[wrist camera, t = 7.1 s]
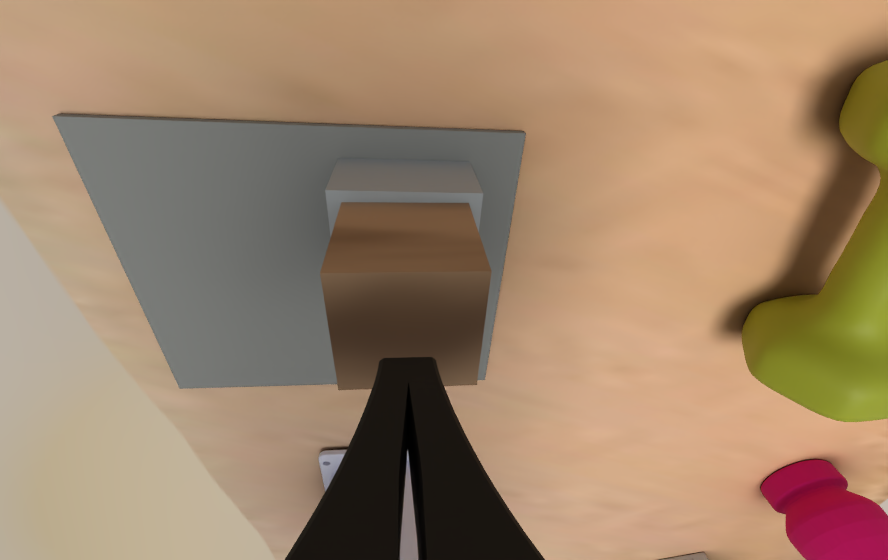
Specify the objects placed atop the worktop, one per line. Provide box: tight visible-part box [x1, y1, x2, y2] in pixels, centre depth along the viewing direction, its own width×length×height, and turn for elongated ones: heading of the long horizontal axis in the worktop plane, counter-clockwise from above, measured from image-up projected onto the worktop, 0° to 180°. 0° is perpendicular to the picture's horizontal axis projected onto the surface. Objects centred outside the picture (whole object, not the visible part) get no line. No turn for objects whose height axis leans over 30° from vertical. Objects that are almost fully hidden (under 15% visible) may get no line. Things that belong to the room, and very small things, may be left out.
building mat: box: [52, 114, 526, 389], centre depth 20 cm, size 15×18×1 cm
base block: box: [325, 158, 483, 236], centre depth 17 cm, size 6×6×4 cm
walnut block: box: [320, 202, 492, 390], centre depth 14 cm, size 4×4×4 cm
